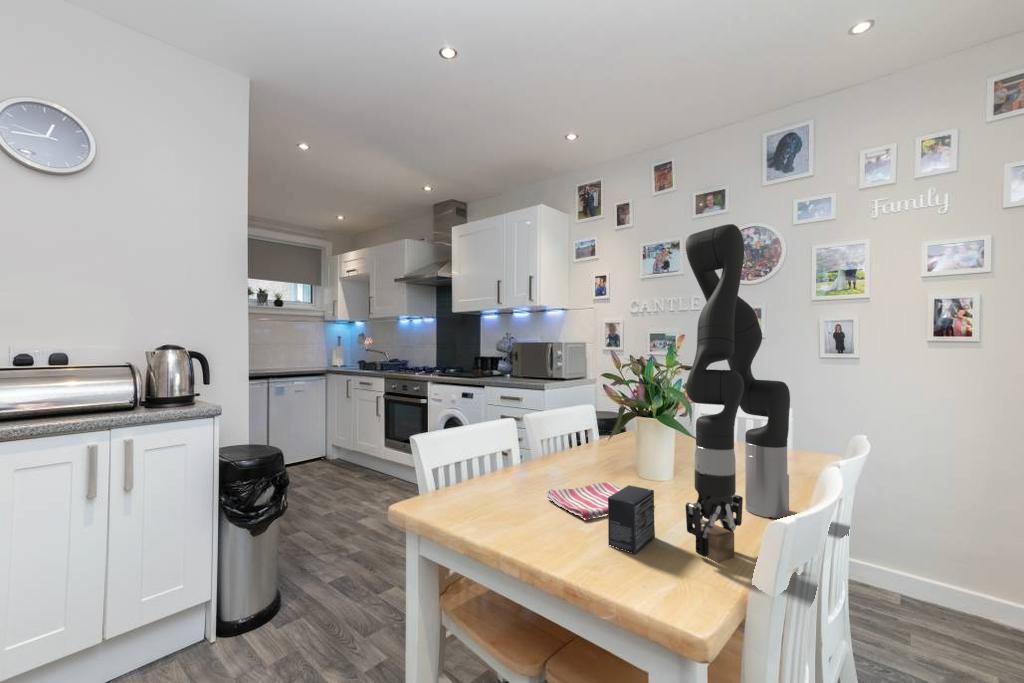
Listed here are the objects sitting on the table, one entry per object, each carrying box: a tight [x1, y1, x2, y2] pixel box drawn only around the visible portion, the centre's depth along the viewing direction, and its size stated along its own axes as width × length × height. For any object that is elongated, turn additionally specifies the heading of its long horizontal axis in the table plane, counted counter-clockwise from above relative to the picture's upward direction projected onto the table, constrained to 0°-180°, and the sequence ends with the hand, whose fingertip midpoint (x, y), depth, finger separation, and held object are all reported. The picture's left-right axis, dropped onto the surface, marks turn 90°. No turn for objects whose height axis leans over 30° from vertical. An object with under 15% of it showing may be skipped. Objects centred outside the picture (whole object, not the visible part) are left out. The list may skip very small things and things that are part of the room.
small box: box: [607, 485, 656, 554], centre depth 95 cm, size 11×6×10 cm, turn 141°
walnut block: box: [695, 523, 735, 563], centre depth 89 cm, size 5×5×5 cm
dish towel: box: [546, 482, 623, 520], centre depth 118 cm, size 17×23×4 cm
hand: (714, 550), depth 89 cm, fingers open, 6 cm apart
